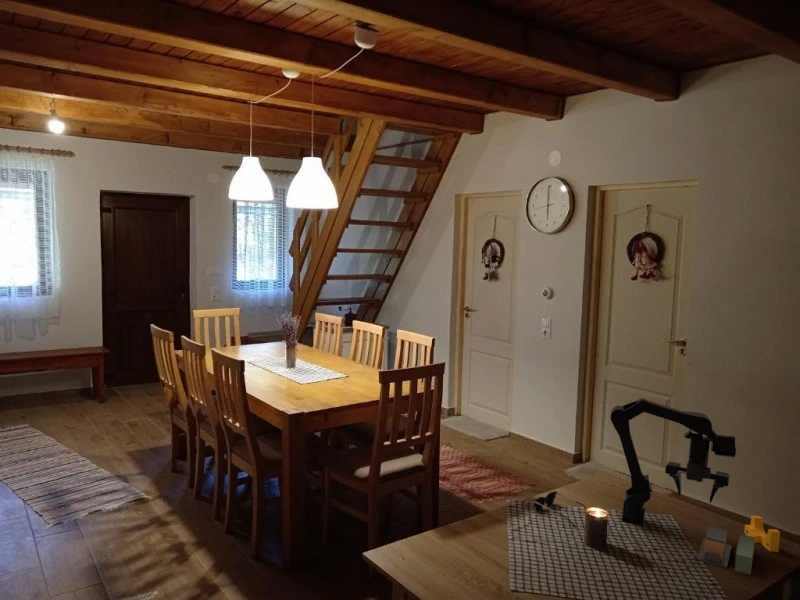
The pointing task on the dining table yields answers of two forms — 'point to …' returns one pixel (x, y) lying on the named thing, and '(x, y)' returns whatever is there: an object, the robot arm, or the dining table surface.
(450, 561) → the dining table surface
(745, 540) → the green long block
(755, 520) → the pipe clamp
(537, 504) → the sunglasses
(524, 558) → the dining table surface
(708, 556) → the side mount
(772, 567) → the dining table surface
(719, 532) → the tan and grey block
